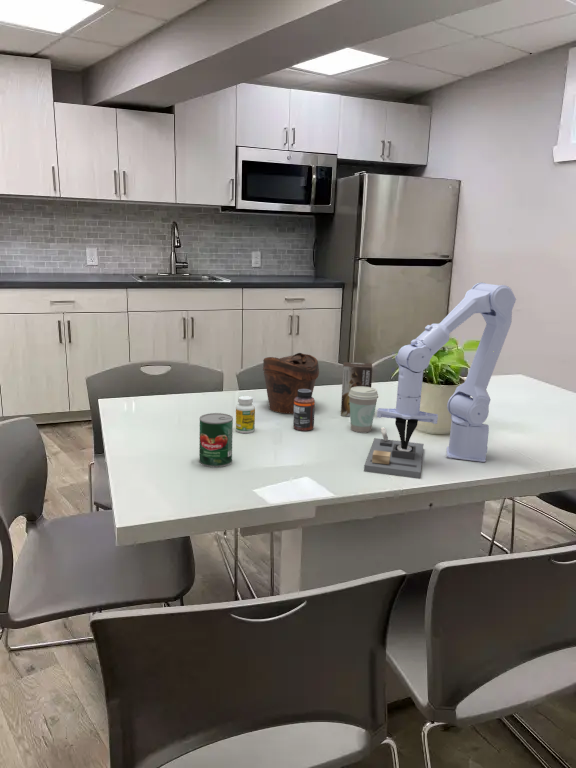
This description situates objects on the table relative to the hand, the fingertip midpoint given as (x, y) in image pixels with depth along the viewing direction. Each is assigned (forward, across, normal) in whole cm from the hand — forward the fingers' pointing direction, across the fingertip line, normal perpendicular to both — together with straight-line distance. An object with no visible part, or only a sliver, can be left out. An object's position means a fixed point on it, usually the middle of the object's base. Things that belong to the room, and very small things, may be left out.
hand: (404, 447), depth 147 cm
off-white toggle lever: (+1, -5, +6) cm, 8 cm away
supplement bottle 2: (+4, -30, +16) cm, 34 cm away
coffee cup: (+4, -14, +22) cm, 26 cm away
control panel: (+3, -2, 0) cm, 4 cm away
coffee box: (+4, -18, +36) cm, 41 cm away
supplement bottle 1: (+4, -44, +8) cm, 45 cm away
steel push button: (+1, 0, 0) cm, 1 cm away
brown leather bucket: (+4, -38, +36) cm, 52 cm away
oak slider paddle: (+2, -5, -7) cm, 9 cm away
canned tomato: (+4, -44, -16) cm, 47 cm away
